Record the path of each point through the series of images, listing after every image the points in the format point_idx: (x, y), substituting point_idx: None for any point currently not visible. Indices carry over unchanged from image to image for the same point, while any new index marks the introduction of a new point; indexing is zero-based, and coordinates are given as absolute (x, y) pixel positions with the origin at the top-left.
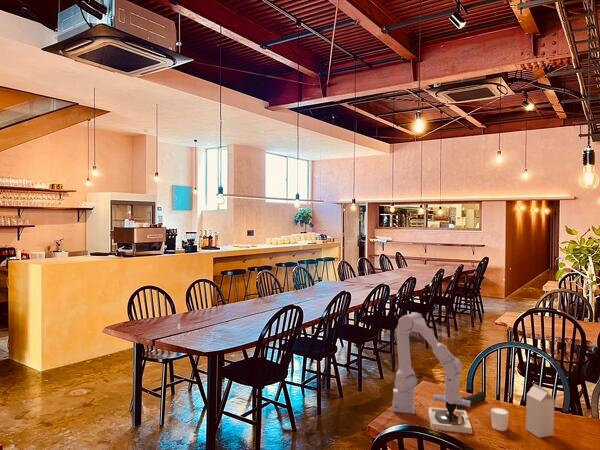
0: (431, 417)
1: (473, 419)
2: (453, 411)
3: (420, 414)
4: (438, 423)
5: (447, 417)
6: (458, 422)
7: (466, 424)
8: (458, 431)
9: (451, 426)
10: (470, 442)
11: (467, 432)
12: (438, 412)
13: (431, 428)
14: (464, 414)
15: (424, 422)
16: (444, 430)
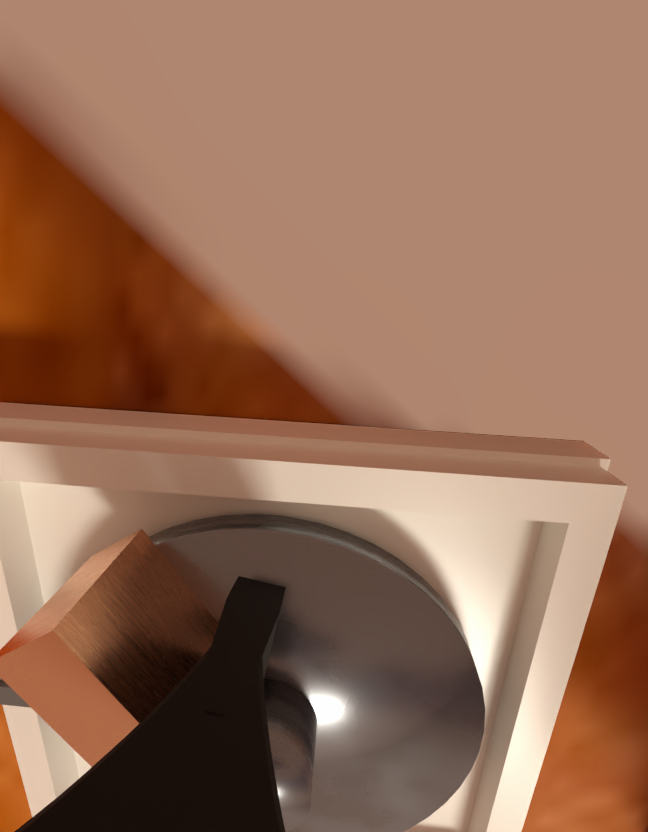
0: (552, 683)
1: (3, 721)
2: (81, 789)
3: (600, 775)
4: (488, 510)
5: (294, 695)
6: (126, 547)
7: (47, 579)
8: (179, 417)
9: (267, 455)
10: (14, 97)
11: (55, 407)
12: (400, 808)
13: (582, 445)
14: (60, 785)
15: (617, 610)
16: (381, 428)
